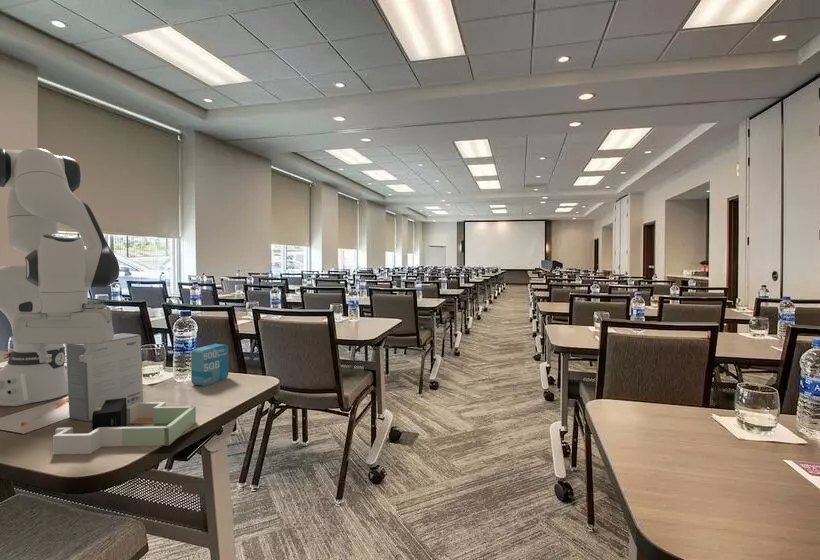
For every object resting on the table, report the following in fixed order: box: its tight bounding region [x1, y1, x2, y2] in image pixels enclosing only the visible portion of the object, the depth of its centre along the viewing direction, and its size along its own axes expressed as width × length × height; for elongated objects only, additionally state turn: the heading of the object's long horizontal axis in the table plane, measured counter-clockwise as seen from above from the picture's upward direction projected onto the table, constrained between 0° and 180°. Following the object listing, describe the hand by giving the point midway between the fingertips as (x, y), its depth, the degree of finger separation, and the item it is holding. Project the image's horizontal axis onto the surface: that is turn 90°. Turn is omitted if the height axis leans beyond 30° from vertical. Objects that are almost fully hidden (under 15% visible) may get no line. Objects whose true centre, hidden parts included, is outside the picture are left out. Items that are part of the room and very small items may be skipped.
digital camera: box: [91, 398, 128, 431], centre depth 101 cm, size 10×5×7 cm, turn 27°
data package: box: [190, 343, 229, 387], centre depth 144 cm, size 12×4×12 cm, turn 161°
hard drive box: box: [65, 332, 144, 422], centre depth 116 cm, size 16×8×20 cm, turn 159°
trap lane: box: [52, 401, 197, 455], centre depth 102 cm, size 24×21×4 cm
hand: (65, 362), depth 100 cm, fingers open, 7 cm apart
